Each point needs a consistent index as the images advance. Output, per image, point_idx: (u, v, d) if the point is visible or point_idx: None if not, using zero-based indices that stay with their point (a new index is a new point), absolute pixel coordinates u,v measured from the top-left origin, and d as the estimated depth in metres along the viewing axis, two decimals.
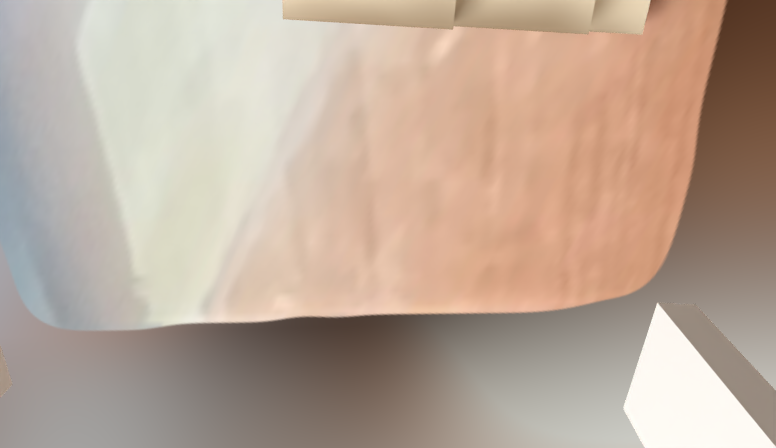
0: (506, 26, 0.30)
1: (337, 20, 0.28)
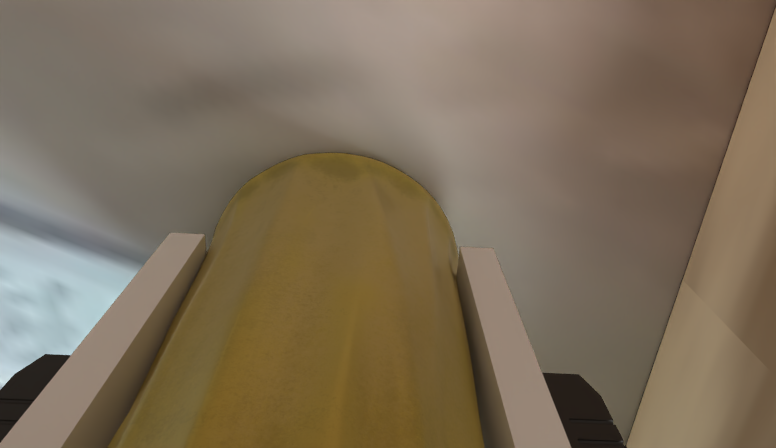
0: None
1: None
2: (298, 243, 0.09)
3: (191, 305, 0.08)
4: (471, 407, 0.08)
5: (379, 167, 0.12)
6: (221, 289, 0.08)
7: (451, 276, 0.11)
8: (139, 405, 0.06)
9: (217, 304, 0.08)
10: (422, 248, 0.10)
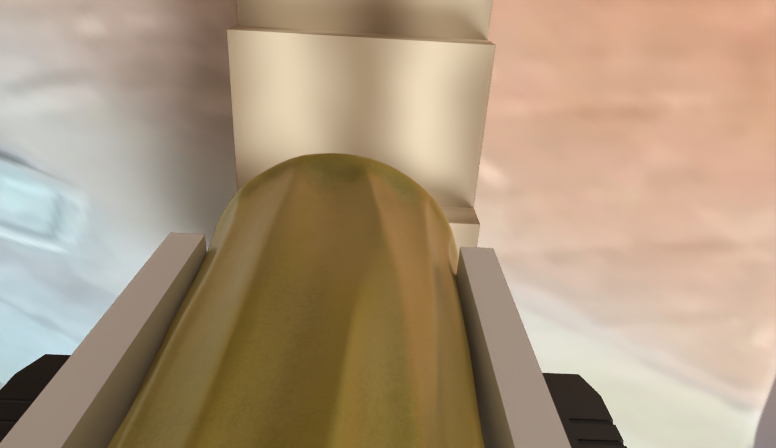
0: (478, 146, 0.26)
1: None
2: (298, 243, 0.09)
3: (190, 306, 0.08)
4: (471, 409, 0.08)
5: (379, 167, 0.12)
6: (220, 290, 0.08)
7: (451, 277, 0.11)
8: (138, 407, 0.06)
9: (216, 305, 0.08)
10: (422, 248, 0.10)
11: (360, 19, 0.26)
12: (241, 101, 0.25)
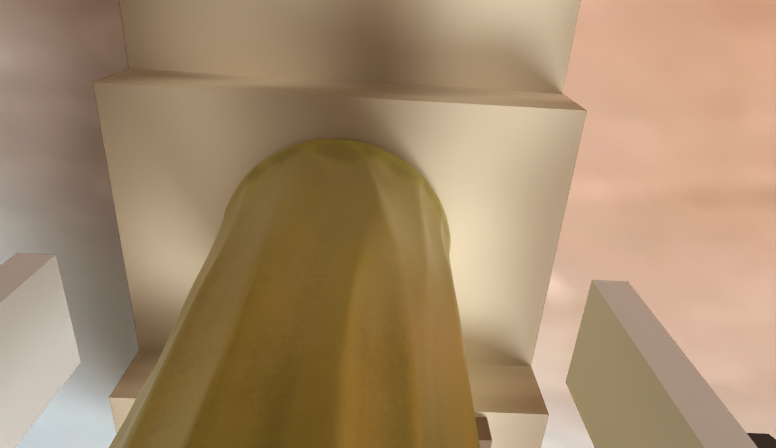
0: (545, 275, 0.15)
1: None
2: (304, 216, 0.10)
3: (210, 270, 0.09)
4: (459, 355, 0.09)
5: (376, 151, 0.13)
6: (236, 255, 0.09)
7: (443, 249, 0.12)
8: (171, 348, 0.07)
9: (234, 267, 0.09)
10: (416, 223, 0.11)
11: (342, 58, 0.15)
12: (131, 204, 0.14)
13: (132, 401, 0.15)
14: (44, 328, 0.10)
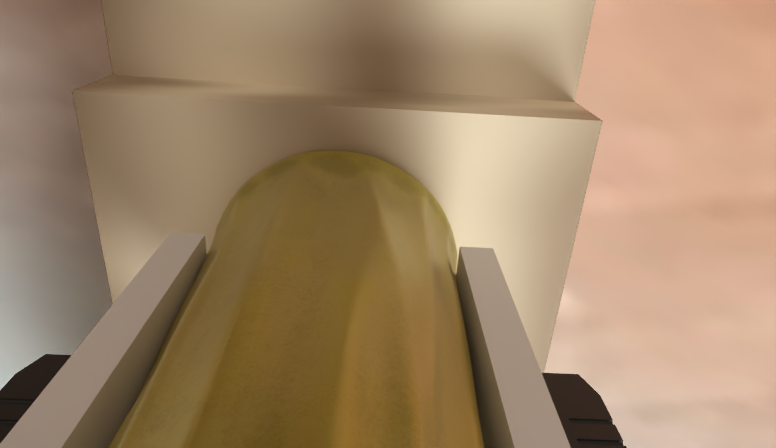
0: (556, 294, 0.14)
1: None
2: (298, 239, 0.09)
3: (193, 300, 0.08)
4: (469, 397, 0.08)
5: (378, 163, 0.12)
6: (222, 284, 0.08)
7: (450, 271, 0.11)
8: (143, 397, 0.07)
9: (219, 299, 0.08)
10: (420, 243, 0.10)
11: (340, 64, 0.14)
12: (115, 220, 0.13)
13: None
14: None
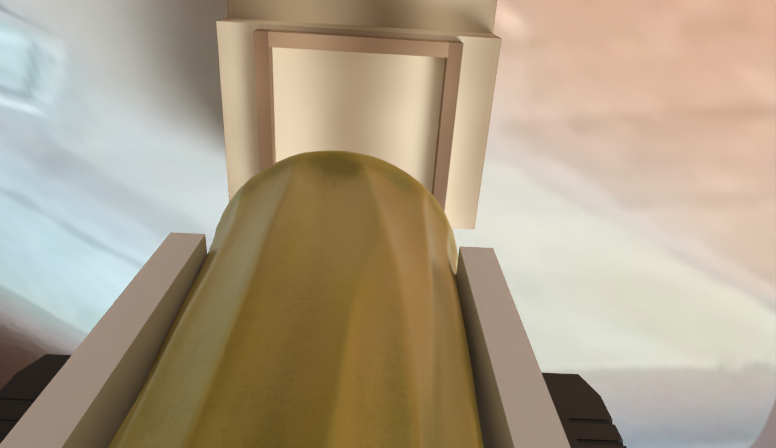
0: None
1: (480, 174, 0.25)
2: (298, 239, 0.09)
3: (193, 301, 0.08)
4: (469, 397, 0.08)
5: (378, 163, 0.12)
6: (222, 284, 0.08)
7: (449, 271, 0.11)
8: (143, 397, 0.07)
9: (218, 299, 0.08)
10: (420, 243, 0.10)
11: None
12: None
13: (231, 24, 0.22)
14: None
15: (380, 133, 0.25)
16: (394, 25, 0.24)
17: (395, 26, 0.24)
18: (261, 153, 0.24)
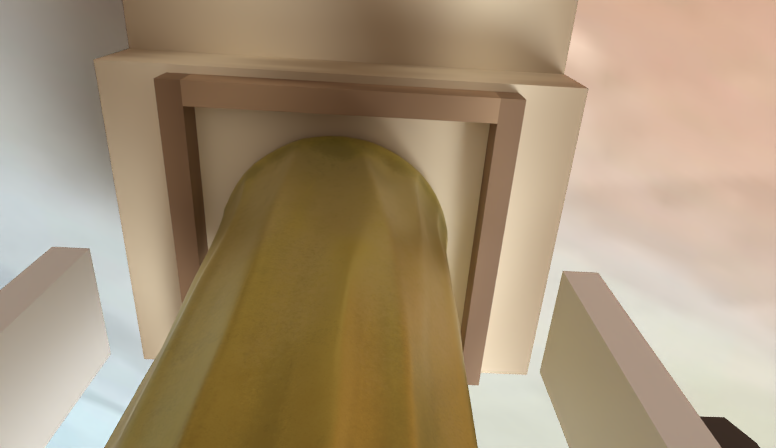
0: None
1: (539, 298, 0.16)
2: (301, 210, 0.10)
3: (209, 263, 0.09)
4: (454, 342, 0.09)
5: (373, 147, 0.13)
6: (235, 249, 0.10)
7: (439, 242, 0.12)
8: (171, 337, 0.08)
9: (232, 260, 0.09)
10: (412, 216, 0.11)
11: None
12: None
13: (119, 65, 0.13)
14: (79, 320, 0.11)
15: None
16: (403, 61, 0.15)
17: (404, 63, 0.15)
18: (182, 274, 0.15)
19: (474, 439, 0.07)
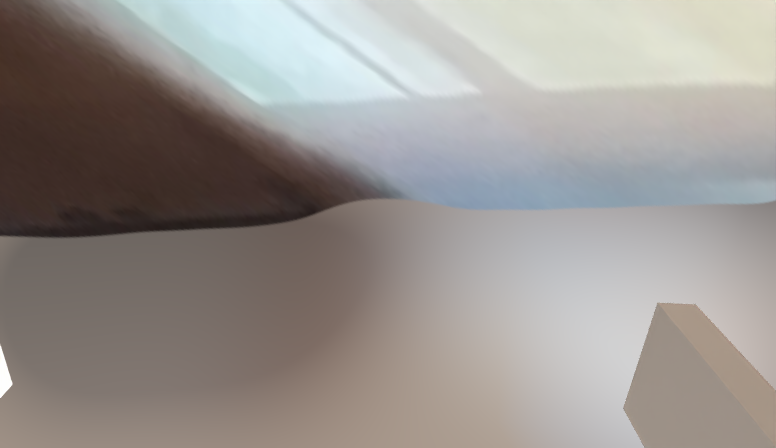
0: None
1: None
2: None
3: None
4: None
5: None
6: None
7: None
8: None
9: None
10: None
11: None
12: None
13: None
14: None
15: None
16: None
17: None
18: None
19: None
